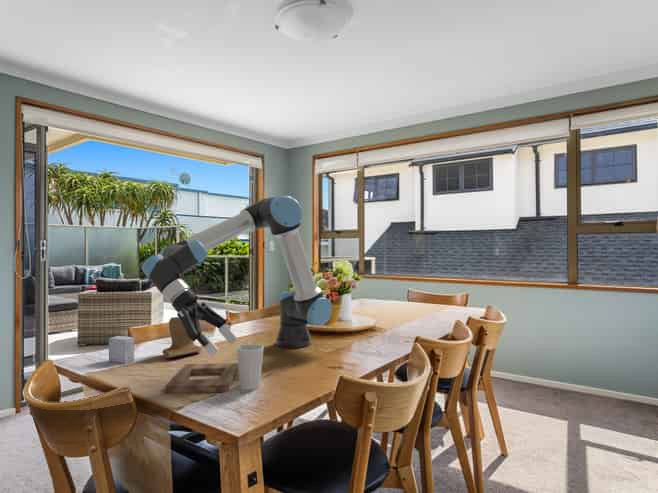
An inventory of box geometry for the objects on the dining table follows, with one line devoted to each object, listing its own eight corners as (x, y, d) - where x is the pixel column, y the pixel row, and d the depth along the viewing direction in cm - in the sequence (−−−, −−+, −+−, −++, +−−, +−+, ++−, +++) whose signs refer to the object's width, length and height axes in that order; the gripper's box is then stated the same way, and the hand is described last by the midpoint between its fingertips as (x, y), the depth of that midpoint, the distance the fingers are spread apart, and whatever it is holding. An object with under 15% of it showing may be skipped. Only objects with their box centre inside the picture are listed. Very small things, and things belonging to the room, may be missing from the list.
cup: (238, 382, 128) (238, 344, 128) (264, 381, 129) (264, 343, 129) (235, 391, 120) (235, 350, 120) (262, 390, 121) (262, 350, 121)
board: (238, 368, 142) (238, 362, 142) (228, 391, 120) (228, 384, 120) (185, 369, 141) (185, 363, 141) (165, 393, 119) (165, 386, 119)
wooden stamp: (189, 348, 170) (189, 312, 169) (206, 353, 162) (206, 315, 162) (154, 355, 158) (154, 317, 158) (170, 361, 150) (170, 320, 150)
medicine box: (134, 360, 151) (134, 337, 151) (125, 364, 147) (125, 340, 147) (118, 358, 154) (118, 335, 154) (108, 361, 150) (108, 338, 149)
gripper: (193, 299, 141) (233, 345, 138) (148, 310, 116) (196, 367, 113) (207, 284, 140) (248, 330, 137) (165, 292, 115) (214, 349, 112)
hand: (225, 347), depth 125 cm, fingers open, 13 cm apart
